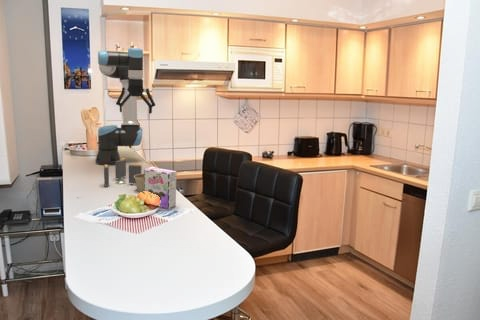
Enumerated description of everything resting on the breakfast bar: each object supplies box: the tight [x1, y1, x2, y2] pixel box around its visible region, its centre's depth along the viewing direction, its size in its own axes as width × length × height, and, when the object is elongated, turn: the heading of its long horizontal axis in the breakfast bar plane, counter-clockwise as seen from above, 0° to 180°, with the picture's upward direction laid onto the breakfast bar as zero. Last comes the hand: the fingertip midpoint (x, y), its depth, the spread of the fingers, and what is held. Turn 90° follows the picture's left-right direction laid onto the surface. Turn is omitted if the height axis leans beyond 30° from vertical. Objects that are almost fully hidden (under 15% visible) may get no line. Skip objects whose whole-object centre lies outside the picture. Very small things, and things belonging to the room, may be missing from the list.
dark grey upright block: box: [103, 165, 110, 187], centre depth 204 cm, size 2×6×11 cm, turn 17°
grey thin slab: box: [128, 163, 143, 186], centre depth 208 cm, size 2×6×11 cm, turn 86°
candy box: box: [143, 166, 177, 210], centre depth 183 cm, size 14×6×16 cm, turn 62°
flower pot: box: [134, 173, 144, 193], centre depth 200 cm, size 9×9×9 cm
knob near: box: [114, 157, 127, 180], centre depth 217 cm, size 2×6×11 cm, turn 157°
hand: (135, 119), depth 220 cm, fingers open, 13 cm apart
